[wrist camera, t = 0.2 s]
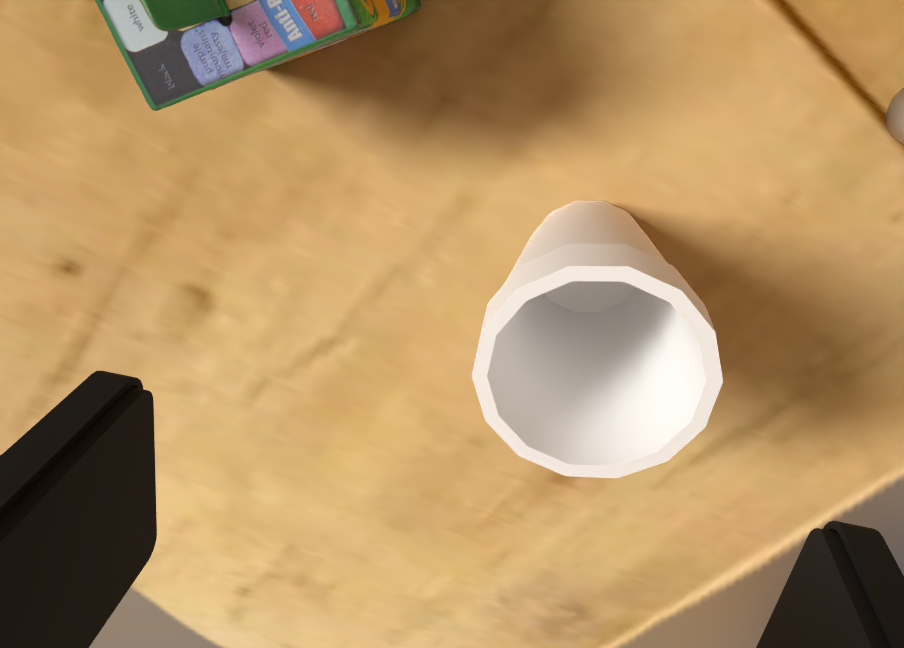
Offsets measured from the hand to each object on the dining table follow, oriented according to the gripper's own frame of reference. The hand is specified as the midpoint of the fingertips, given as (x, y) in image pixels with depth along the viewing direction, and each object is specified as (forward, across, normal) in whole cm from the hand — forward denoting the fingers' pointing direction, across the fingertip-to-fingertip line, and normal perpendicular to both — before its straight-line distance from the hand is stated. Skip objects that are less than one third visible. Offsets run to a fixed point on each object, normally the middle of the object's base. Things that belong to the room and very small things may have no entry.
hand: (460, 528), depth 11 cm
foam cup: (+31, -4, +7) cm, 32 cm away
